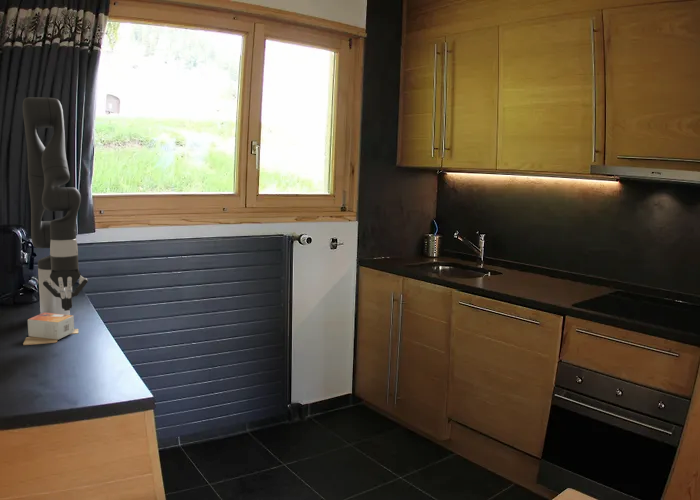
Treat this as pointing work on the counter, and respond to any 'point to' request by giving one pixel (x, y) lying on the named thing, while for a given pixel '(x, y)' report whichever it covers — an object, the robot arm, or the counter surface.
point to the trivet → (38, 340)
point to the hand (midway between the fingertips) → (67, 309)
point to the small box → (50, 325)
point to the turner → (75, 331)
